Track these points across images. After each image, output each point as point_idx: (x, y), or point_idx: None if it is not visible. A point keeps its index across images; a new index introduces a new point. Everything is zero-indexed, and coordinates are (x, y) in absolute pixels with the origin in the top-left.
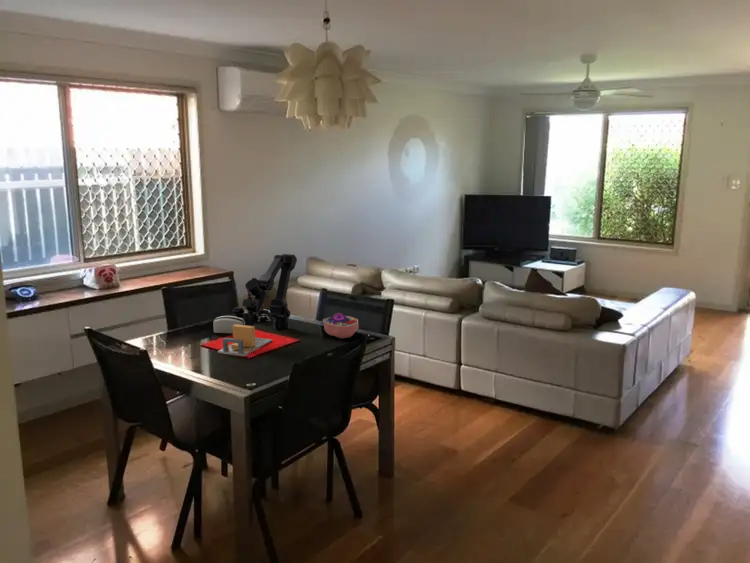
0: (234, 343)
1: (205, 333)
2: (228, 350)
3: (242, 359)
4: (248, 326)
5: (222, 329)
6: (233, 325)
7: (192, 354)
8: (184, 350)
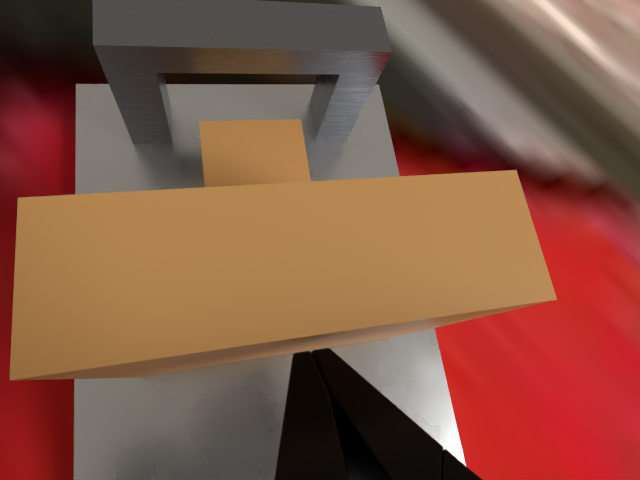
0: (304, 169)
1: None
2: (306, 124)
3: (53, 32)
4: (177, 280)
5: None
6: (524, 201)
7: (500, 20)
8: (609, 69)
